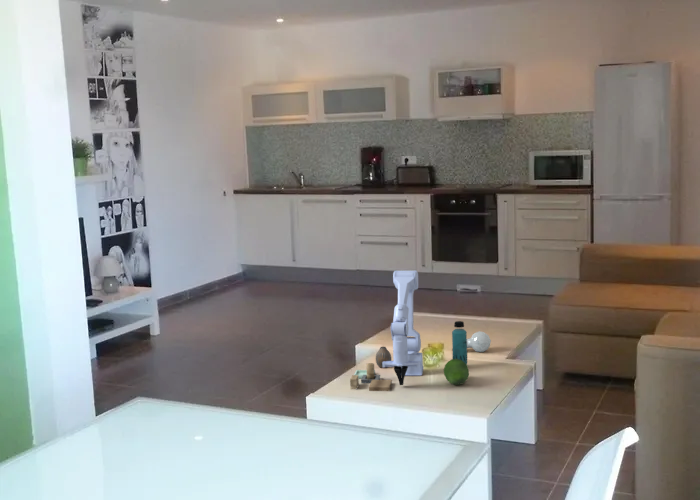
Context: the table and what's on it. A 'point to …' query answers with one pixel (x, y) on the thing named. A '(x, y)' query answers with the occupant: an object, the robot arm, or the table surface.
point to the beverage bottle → (459, 342)
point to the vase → (382, 356)
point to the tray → (361, 373)
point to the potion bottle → (479, 341)
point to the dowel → (370, 371)
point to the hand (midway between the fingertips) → (401, 384)
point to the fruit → (456, 371)
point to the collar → (365, 380)
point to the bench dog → (354, 382)
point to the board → (380, 385)
